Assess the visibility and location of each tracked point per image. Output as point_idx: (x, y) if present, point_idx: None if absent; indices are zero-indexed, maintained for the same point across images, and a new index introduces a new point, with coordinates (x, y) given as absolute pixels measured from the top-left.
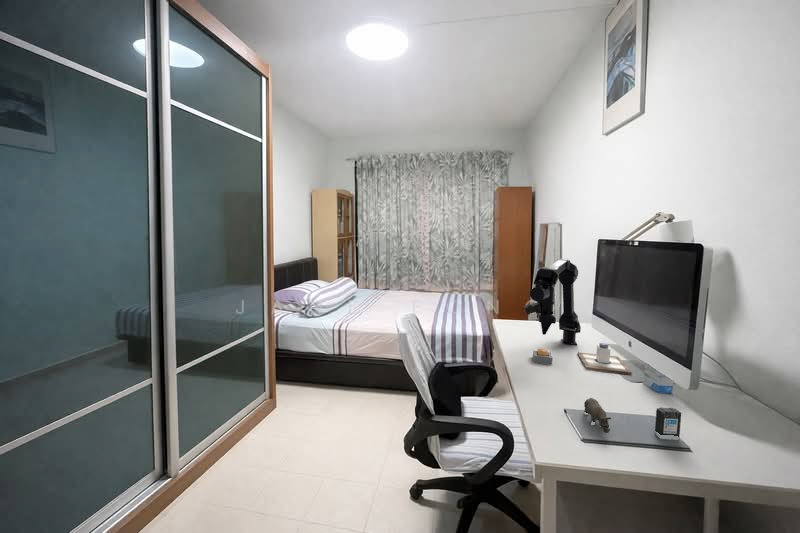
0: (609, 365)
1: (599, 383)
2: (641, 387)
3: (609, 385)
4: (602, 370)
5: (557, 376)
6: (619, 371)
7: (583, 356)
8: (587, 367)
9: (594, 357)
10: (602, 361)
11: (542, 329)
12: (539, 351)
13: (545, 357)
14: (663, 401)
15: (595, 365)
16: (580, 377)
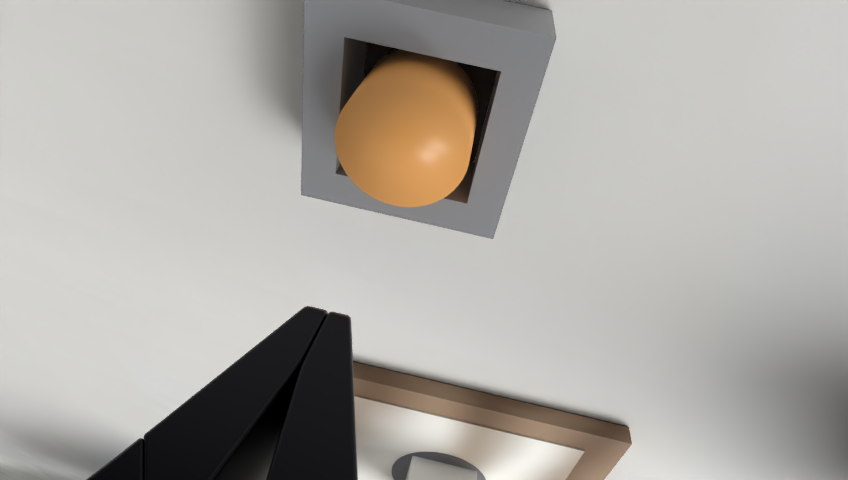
0: (370, 474)
1: (94, 321)
2: None
3: (96, 352)
4: None
5: (50, 105)
6: None
7: (526, 435)
8: None
9: (507, 475)
10: (407, 475)
11: (205, 394)
12: (358, 90)
13: (303, 123)
14: (45, 441)
15: None
16: (133, 263)
